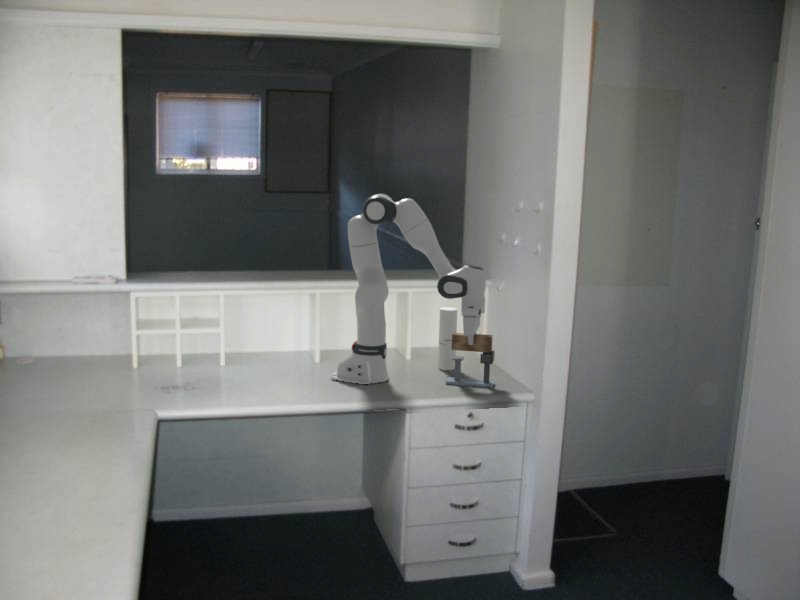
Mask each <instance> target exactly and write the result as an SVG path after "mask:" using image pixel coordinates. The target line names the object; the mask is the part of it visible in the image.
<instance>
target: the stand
mask: <svg viewBox="0 0 800 600" xmlns="http://www.w3.org/2000/svg"><path fill="white" fill-rule="evenodd" d="M464 359H465V356H459V355H458V356H457V355H456V356H454V357H453V358H452V360H455V369H454V376H453V377H451V376H448V377H447V378H446V380H445V385H453V386H464V387H473V386H476V387H477V388H485V387H490V388H489V389H493V388H494V386H493V385H495V380H490V377H491V376H490V375H491V365H493V364H494V361H495V350H492V351H491V353H488V352H482V353H480V358H479V359H480V361H479V362H480V364H484V365H483V366H484V367H483V379H478V378H477V379H475V378H465V377H464V378H463V377H461V369H462V367H461V365H462V361H464ZM476 387H475V388H476Z"/></svg>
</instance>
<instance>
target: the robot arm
mask: <svg viewBox="0 0 800 600" xmlns="http://www.w3.org/2000/svg"><path fill="white" fill-rule="evenodd" d="M392 222H393V223H395V224H396V226H397V227H398V228H399V230H400V232H401V234H402V235H403V238H405V240H406V241H407V243H408V244H409V245H410V246H411V247H412V248H413V249H414V250H417V251H419V252H421V253H423V255H425V256H426V258H427V259H428V260H429V262H430V263H431V265H432V267H433V268H434V270H435V272H436V273H437V276H438V282H437V284H436V285H437V286H436V288H437V292H438V294H439V295H440V296H441V297H443V298H445V299H447V300H448V299H449V300H452V299H459V298H461V305H460V307H461V309H460V310H461V316H462V323H463V324H462V325H463V328H462V329H463V333H464V336H468V344H469V345H473V343H474V340H473V339H474V335H475V334H477V331H478V330H479V328H480V326H481V317H482V314H485V310H486V297H485V292H486V286H487V283H486V282H487V281H486V271H485V270H484V268H483V267H481V266H479V265H476V264H473V263H471V264H470V263H469V264H468V263H467V264H464V266H462V267H461V268H459V269H457V268H456V267H454V266H453V264H452V263H451V262H450V260H449V259H448V257H447V255H446V254H445V252H444V250H443V249H442V247H441V246H440V243H439V241H438V238H437V236H436V233H435V230H434V228H433V225H432V224H431V222H430V220H429V218H428V217H427V215H426V214H425V212H424V210H422V208H421V206H420V205H419V204H418V203H417V202H416V201H415V200H414V199H413V198H410V197H409V198H407V197H406V198H402V199H400V200H398V201H395V200H394V199H393V198H392V196H390V195H388V194H387V193H375V194H373V195H371V196H370V197H368V198H367V199H366V200H365V202H364V203H363V205H362V214H359V215H355V216H353V217H352V218H350V219H349V220H348V223H347V239H348V247H349V252H350V258H351V259H350V260H351V263H352V268H353V270H354V272H355V275H356V279H357V282H358V287H357V289H356V290H355V295H354V300H355V312H356V313H355V315H356V322H357V323H356V327H357V333H356V336H357V337H356V340H355V341H353V343H352V344H351V349H350V350H352V351H351V352H350V353H348V354H347V355H346V356H344V357H343V358H341V359H340V361H339V363H338V365H337V370H336V371H334V372H333V373H332V374H331V377H330V379H331V378H332V379H333V380H332V379H331V380H332V381H336V380H338V382H343V381H344V382H343V383H350V382H351V384H356V383H358V384H357V385H363V384H368V385H372V384H378V383H379V382H380V383H384V382H386V381H388V380H390V376H389V371H388V367H387V366H388V365H387V360H386V359H387V356H388V347H387V342H386V339H387V338H386V337H387V333H386V332H387V322H386V314H385V313H386V312H385V303H386V302H385V301H387V299H388V296H389V294H390V293H389V286H388V282H387V278H386V274H385V270H384V266H383V263H382V259H381V258H382V256H381V253H380V252H381V251H380V248H379V241H378V235H377V231H378V230H377V228H378V227H379V225H384V224H388V223H392ZM371 383H372V384H371Z"/></svg>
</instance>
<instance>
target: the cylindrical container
mask: <svg viewBox="0 0 800 600" xmlns="http://www.w3.org/2000/svg"><path fill="white" fill-rule="evenodd" d="M457 325H458V308H456V307H452V306H451V307H450V306H444V307H443V306H442V307H440V308H439V323H438V327H439V328H438V351H437V352H438V354H437V355H438V359H437V369H438V370H440V369H441V371H447V370H449V371H453V370H454V371H455V360H452V358H453V357H454V356H457V350H452V334H453V333H458V329H457V328H458V326H457Z"/></svg>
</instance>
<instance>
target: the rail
mask: <svg viewBox="0 0 800 600" xmlns="http://www.w3.org/2000/svg"><path fill="white" fill-rule="evenodd" d="M473 340H474V343H473V345H469V344H468V336H464V332H457V333H453V334H452V350H456V351H461V352H475V353H477V352H478V353H483V352H488V353H491V351H493V334H481V333H479V334H478V333H476V334H475V335H474V339H473Z"/></svg>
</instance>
